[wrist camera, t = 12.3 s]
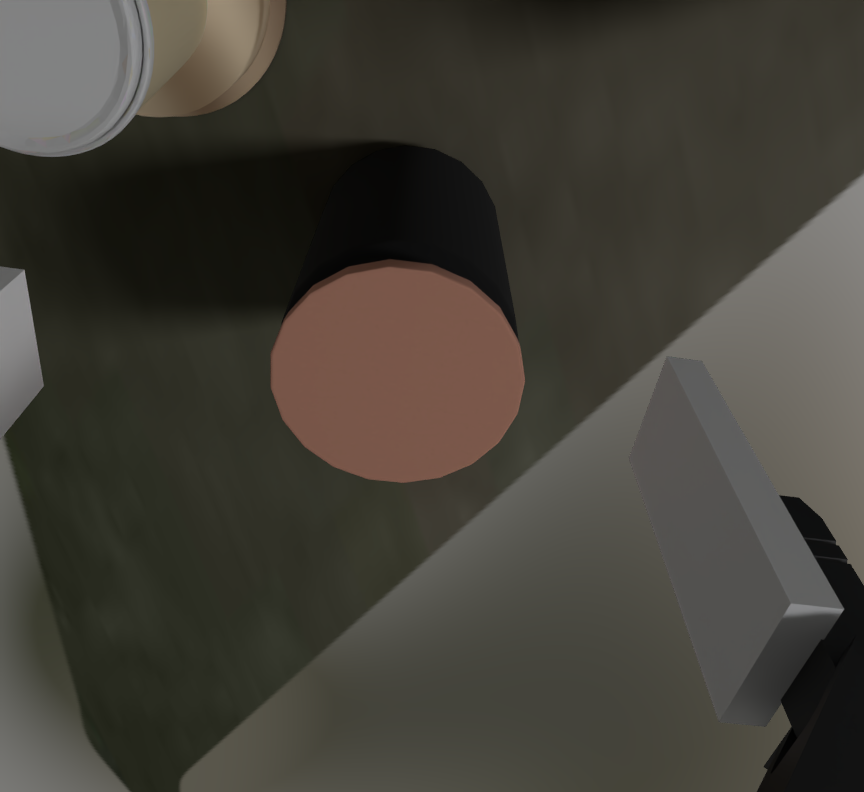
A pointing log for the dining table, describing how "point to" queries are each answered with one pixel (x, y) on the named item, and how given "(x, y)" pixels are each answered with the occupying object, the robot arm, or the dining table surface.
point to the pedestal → (223, 59)
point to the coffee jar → (401, 323)
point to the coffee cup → (86, 67)
